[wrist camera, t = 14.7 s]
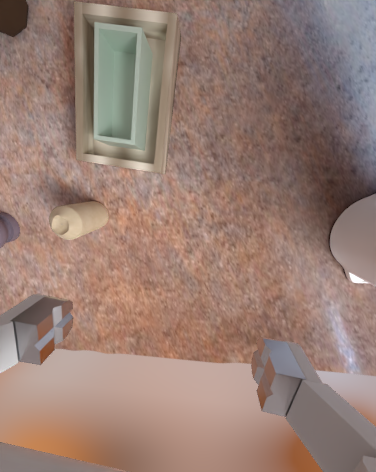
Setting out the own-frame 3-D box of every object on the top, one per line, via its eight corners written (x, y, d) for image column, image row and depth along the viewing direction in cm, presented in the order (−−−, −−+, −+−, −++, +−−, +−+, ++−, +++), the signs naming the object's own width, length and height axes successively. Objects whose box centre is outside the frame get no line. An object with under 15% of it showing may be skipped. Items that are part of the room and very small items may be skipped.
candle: (84, 197, 37) (41, 202, 27) (110, 205, 37) (77, 212, 27) (81, 223, 39) (40, 237, 29) (107, 231, 38) (74, 246, 29)
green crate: (152, 53, 29) (142, 27, 24) (144, 150, 33) (134, 145, 28) (112, 48, 29) (94, 21, 24) (109, 145, 33) (93, 139, 28)
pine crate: (181, 36, 29) (177, 13, 25) (165, 174, 34) (160, 173, 31) (90, 25, 29) (73, 1, 26) (90, 162, 35) (76, 159, 31)
